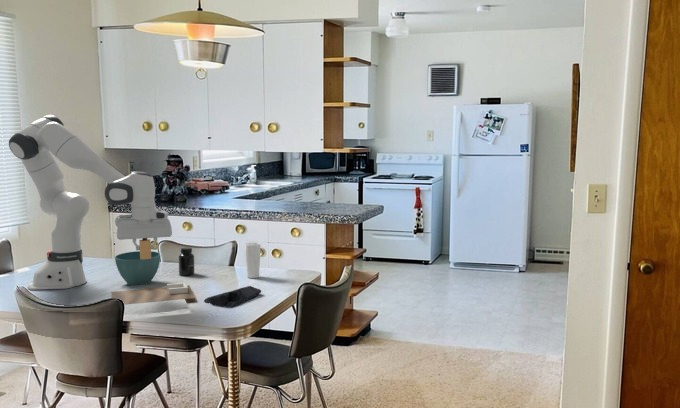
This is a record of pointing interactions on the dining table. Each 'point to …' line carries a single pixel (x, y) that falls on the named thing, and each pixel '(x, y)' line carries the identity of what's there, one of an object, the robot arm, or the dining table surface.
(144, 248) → the tan block with tip
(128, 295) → the board
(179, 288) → the plug holder
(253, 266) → the drinking glass
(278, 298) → the dining table surface
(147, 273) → the teal bowl
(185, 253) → the supplement bottle
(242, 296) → the dark slate chunk
